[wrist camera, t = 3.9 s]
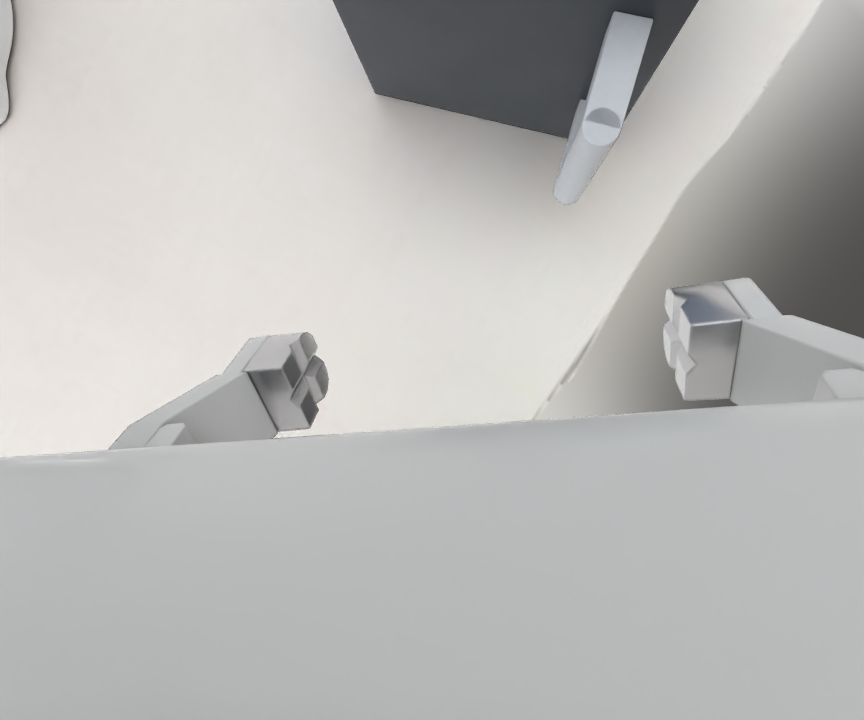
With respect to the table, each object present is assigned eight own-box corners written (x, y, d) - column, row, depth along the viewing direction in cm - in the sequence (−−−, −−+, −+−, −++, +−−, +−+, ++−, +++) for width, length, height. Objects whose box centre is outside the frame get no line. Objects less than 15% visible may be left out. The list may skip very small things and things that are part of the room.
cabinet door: (584, 227, 33) (681, 113, 16) (354, 170, 35) (231, 13, 18) (612, 132, 33) (740, -83, 16) (378, 79, 34) (275, -168, 18)
